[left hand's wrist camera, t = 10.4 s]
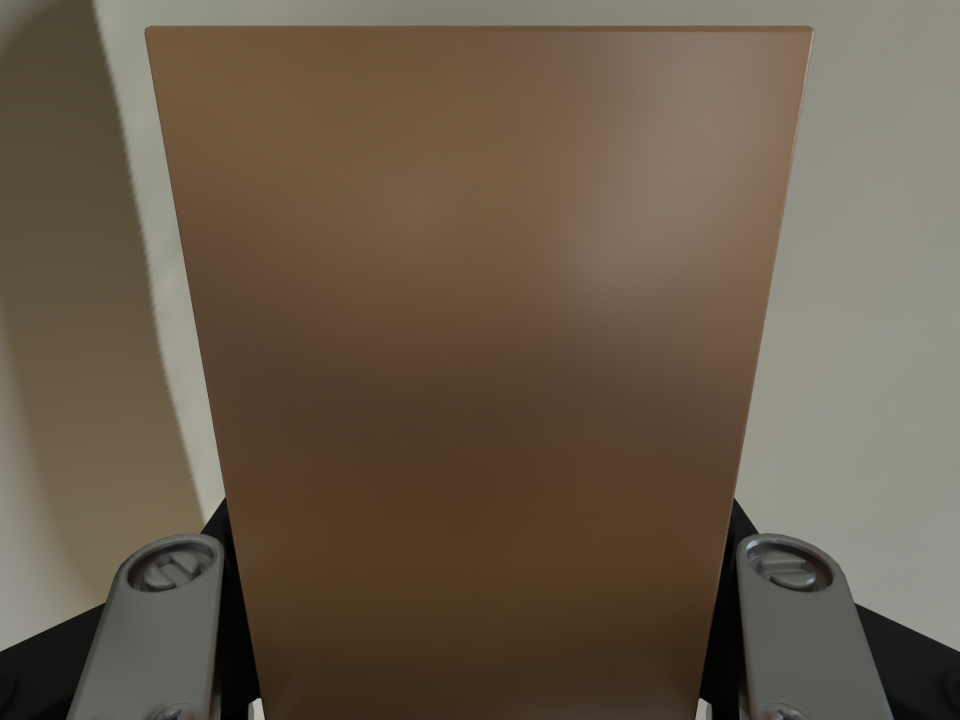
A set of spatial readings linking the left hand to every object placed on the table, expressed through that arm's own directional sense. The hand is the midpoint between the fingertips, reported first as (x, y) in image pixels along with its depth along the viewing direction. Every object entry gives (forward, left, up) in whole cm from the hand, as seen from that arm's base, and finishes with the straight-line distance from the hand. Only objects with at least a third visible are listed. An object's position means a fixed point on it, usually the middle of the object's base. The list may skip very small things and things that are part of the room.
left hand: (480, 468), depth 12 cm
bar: (+12, -21, -3) cm, 24 cm away
